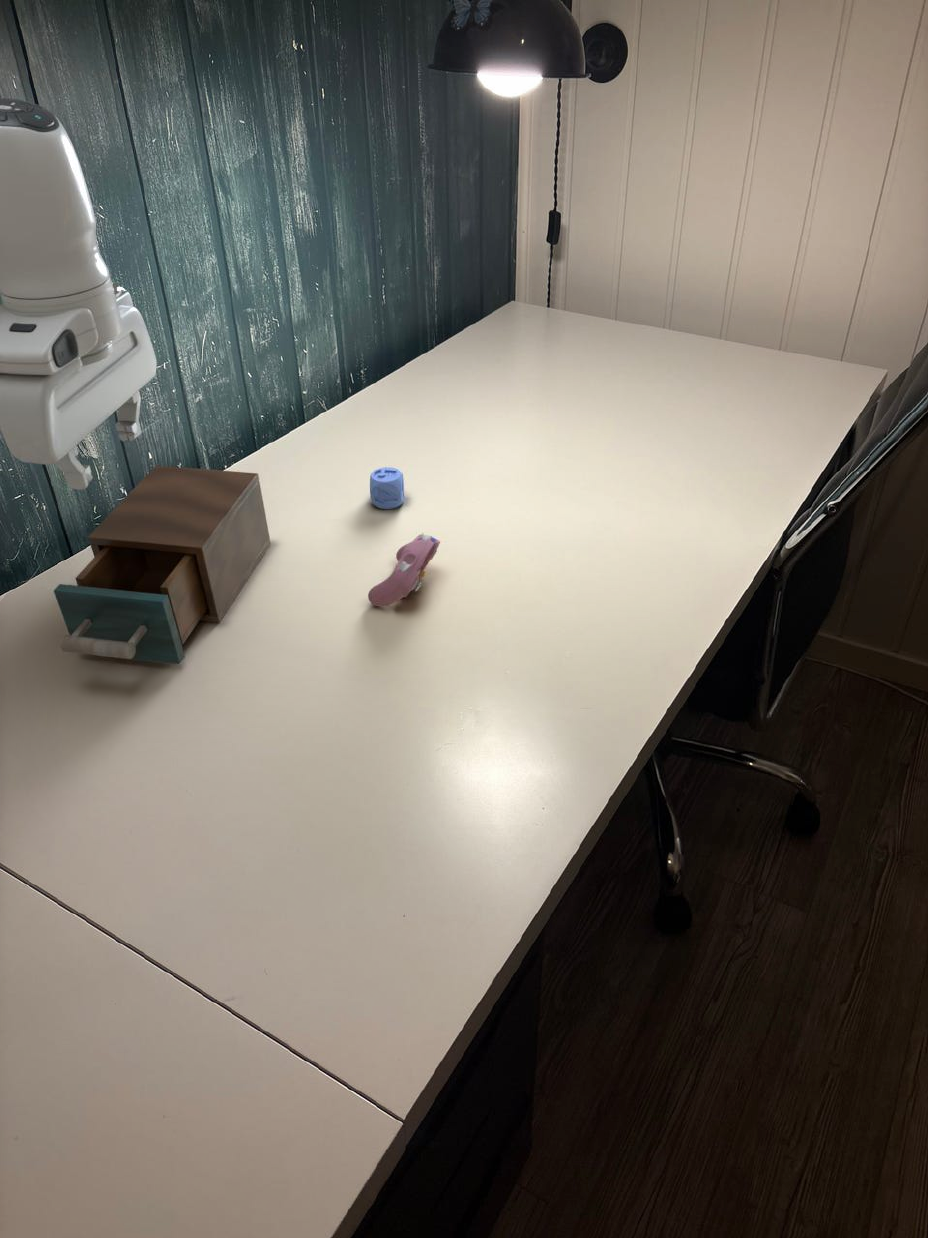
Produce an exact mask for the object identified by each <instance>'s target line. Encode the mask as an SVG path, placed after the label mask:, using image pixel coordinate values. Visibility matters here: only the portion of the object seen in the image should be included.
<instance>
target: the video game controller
mask: <svg viewBox="0 0 928 1238" xmlns="http://www.w3.org/2000/svg"><path fill="white" fill-rule="evenodd" d="M440 544H441V540H439V539H437V538H435V537H433V536H431V535H426V534H424V532H422V533H421V534H419V535H417V536H416V537H415V538H414V539H413V540H412V541H410V542H408V543H406V544H404V545H403V546H401V547H400V548H399V549H398V550H397V552H396V553H395V554H396V555H395V556H396V557H395V558H396V560H397V561H398V562H396V563H397V564H396V565H395V567H394V569H393V570H392V572H391V574H390V575H389V576H388V577H387V578H385V579H384V580H383V581H381V582H380V583H378V584H376V585H374V586H373V587H372V588H371V589H369V591H368V595H367V597H368V598H367V599H368V601H369V603H371V604H372V605H373V606H378V607H384V606H390V605H393V604H394V603H397V602H399V601H400V600H401V599H405V598H407V597H408V596H409V594H410V593H411V592H412V591H413V590H414V592H417V591H419V590H420V588H421V587H422V581H419V579H420V578H421V579H423V578H424V577H425V576H426V571H425V569H426V568H427V566H428V564H429V563H430V561H433V559H434V557H435V556H436V553H437V552H438V548H439V545H440Z"/></svg>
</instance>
